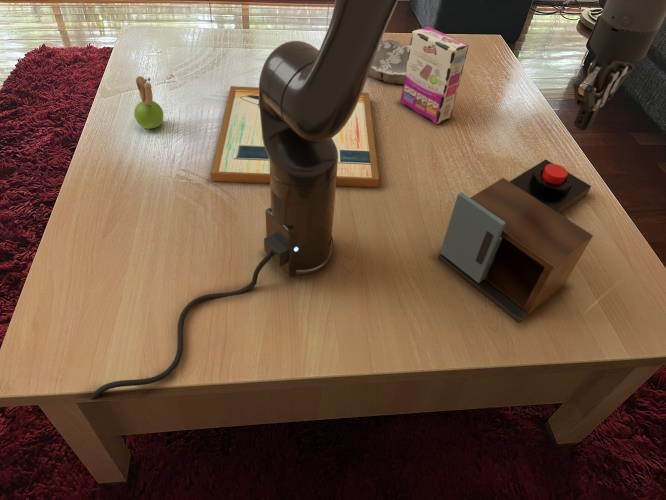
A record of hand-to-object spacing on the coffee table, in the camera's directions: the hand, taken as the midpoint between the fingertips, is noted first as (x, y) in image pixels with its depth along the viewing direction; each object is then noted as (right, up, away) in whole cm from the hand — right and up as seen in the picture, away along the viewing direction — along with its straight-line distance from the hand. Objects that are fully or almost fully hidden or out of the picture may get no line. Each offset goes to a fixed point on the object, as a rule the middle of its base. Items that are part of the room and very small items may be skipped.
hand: (581, 126), depth 83 cm
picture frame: (-47, +3, +23) cm, 52 cm away
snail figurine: (-76, +5, +22) cm, 79 cm away
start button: (+1, -6, +12) cm, 14 cm away
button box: (0, -9, +15) cm, 17 cm away
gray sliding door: (-20, -22, -1) cm, 30 cm away
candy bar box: (-19, +11, +32) cm, 39 cm away
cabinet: (-12, -23, +1) cm, 26 cm away
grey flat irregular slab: (-25, +25, +45) cm, 57 cm away
